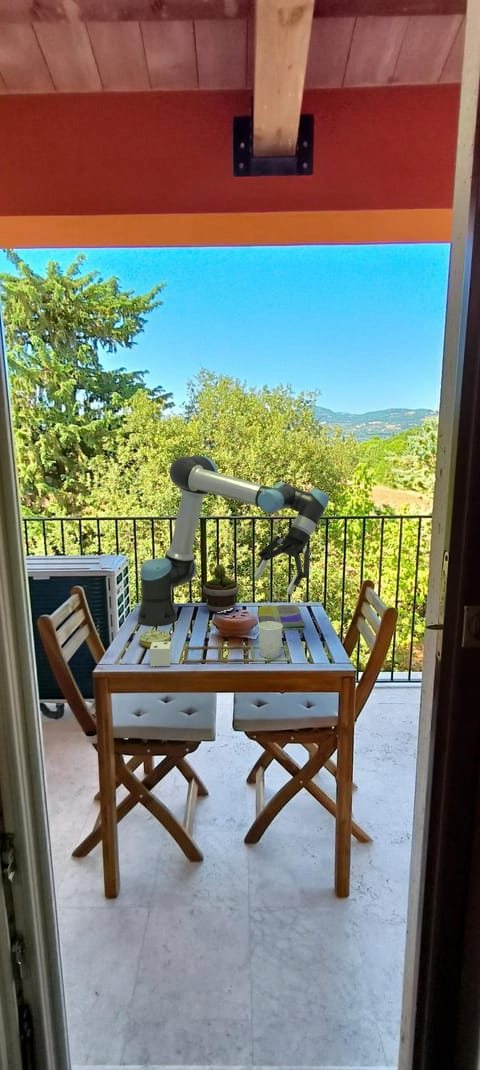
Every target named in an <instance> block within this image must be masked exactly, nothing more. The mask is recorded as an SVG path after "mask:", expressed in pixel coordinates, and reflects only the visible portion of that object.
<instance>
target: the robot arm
mask: <svg viewBox="0 0 480 1070" xmlns="http://www.w3.org/2000/svg"><path fill="white" fill-rule="evenodd" d="M168 472H169V478H170V481H172V483H173V484H174V485H175V486H176V487H177V488H179V489H180V491H181V497H180V501H179V506H178V510H177V515H176V521H175V525H174V530H173V535H172V541H171V545H170V547H169V549H167V550H166V552H165V556H164V557H157V558H156V557H155V558H154V559H153V558H151V559H148V560H146V561H144V562H143V563H142V564H141V565H140V572H139V573H140V581H141V582H140V584H141V585H140V589H141V603H140V606H139V609H138V613H137V622H138V623H140V624H141V625H144V626H150V627H151V626H152V627H157V626H166V625H169V624H168V623H170V624H172V622H173V623H174V622H176V621H177V619H178V614H177V610H176V608H175V605H174V601H173V593H172V591H173V590H172V589H176V588H177V587H179V586H182V585H186V584H187V583H189V582H191V580H193V578H194V577H195V575H196V573H197V563H195V562H196V561H195V555H194V554H193V552H192V551H193V548H194V542H195V538H196V535H197V534H196V533H197V528H198V524H199V519H200V516H201V515H200V514H201V510H202V506H203V505H202V504H203V501H204V497H205V496H207V495H209V494H213V495H216V496H219V497H222V498H226V499H230V500H233V501H238V502H241V503H244V504H246V505H250V506H255V507H257V508H260V509H261V510H262V511H263V512H265V513H276V512H278V511H282V510H285V509H289V510H293V511H295V512H297V514H296V517H295V518H294V521H293V522H292V524H291V527H290V528H289V530H288V532H287V534H286V536H285V538H282V537H281V536H280V535H277V536H275V539H274V540H273V541H271V542H270V543H269V544H268V545H267V546H266V547H264V548H263V549H262V550H260V551H259V552H258V553H257V556H259V557H260V560H259V562H258V564H257V565H256V566H257V570H256V572H255V574H254V575H253V576H254V578H256V579H258V580H260V578H261V576H262V575H263V572H264V571H265V569H266V567H267V565H268V561H269V560H271V559H273V558H275V557H277V556H279V555H281V554H286V555H288V556H290V557H292V558H294V562H295V567H296V568H295V569H296V573H297V574H294V576H293V578H292V580H290V581H291V582H290V583H289V585H288V587H287V589H286V591H285V592H286V593H287V594H288V595H292V593H293V591H294V590H295V588H296V587H298V586H300V584H301V581H302V579H303V578H304V579H309V577H310V560H311V559H310V558H311V555H312V550H311V549H310V548H309V547H307V548H305V547H306V546H307V544H308V542H309V541H310V538H311V536H312V535H313V532H314V531H315V528H316V527H317V525H318V524H319V521H320V519H321V518H322V516H323V514H324V513H325V511H326V508H327V507H328V505H329V501H330V497H329V495H328V494H327V493H326V492H324V491H322V490H320V489H317V488H312V489H310V491H309V492H308V491H307V492H306V491H304V490H302V489H300V488H297V487H295V486H293V485H290V484H289V483H285V482H282V481H278V482H277V483H276V484H275V485H274V486H273V487H270V486H267V485H265V484H264V485H263V484H260V483H256V482H252V481H248V480H245V479H242V478H238V477H234V476H230V475H227V474H222V473H218V467H217V465H216V463H215V461H214V460H213V459H211V458H210V457H208V456H205V455H193V456H181V457H178V458H177V459H175V460H174V461H173V462H172V463H171V465H170V467H169V471H168ZM279 545H280V546H279ZM302 553H303V566H302V561H301V554H302ZM165 624H166V625H165Z"/></svg>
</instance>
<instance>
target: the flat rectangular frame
mask: <svg viewBox="0 0 480 1070" xmlns="http://www.w3.org/2000/svg"><path fill="white" fill-rule="evenodd" d="M237 649H238V650H244V649H247V650H248V649H249V650H250V651H251V658H227V659H226V658H222V650H237ZM257 649H258V650H260V646H259V645H236V646H235V645H226V646H225V645H222V646H221V645H218V646H215V645H214V646H212V645H211V646H209V645H208V646H205V645H204V646H185V650H184V654H183V655H184V656H183V660H182V661H183V663H184V664H194V663H196V664H197V663H198V664H199V663H200V664H201V663H203V664H205V663H210V664H211V663H262V662H263V663H264V662H265V663H266V662H268V663H271V662H272V663H275V662H276V663H277V662H279V663H281V662H291V656H290V654H289V651H288V648H287V645H286V644H285V645H284V644H283V645H282V644H281V649H283V651H284V654H285V657H286V658H285V657H282V658H279V657H276V658H257V657H256V652H255V650H257ZM190 650H217V651H218V652H217V655H218V656H217V658H218V659H213V658H212V659H210V658H209V659H188V656H189V651H190Z"/></svg>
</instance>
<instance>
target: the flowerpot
mask: <svg viewBox="0 0 480 1070" xmlns="http://www.w3.org/2000/svg"><path fill="white" fill-rule="evenodd" d="M227 573H228V571H227V568H226V566H224V565H223V563H222V564H221V563H217V562H216V563H215V566H214V568H213V571H212V574H213V578H211V579H210V580H207V581H206V582H205V584H204V585H203V587H202V591H203V593H204V594H205V597H206V600H207V601H206V605H205V606H206V608H207V609H208V611H209V613H210V612H211V613H213V614H216V613H215V612H221V611H224V610H227V609H230V608H234V607H236V601H235V600H236V596H237V593H238V592H239V591H240V586H239V584H237V583H236V581H235V580H233V579H232V578H231V577H228V576H227ZM234 609H235V608H234Z"/></svg>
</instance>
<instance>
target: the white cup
mask: <svg viewBox="0 0 480 1070" xmlns="http://www.w3.org/2000/svg"><path fill="white" fill-rule="evenodd" d="M257 626H258V627H257V628H258V646H260V649H259V655H260V656H261V657H263V658H265V659H277V658H279V657H280V656H281V649H282V648H281V645H282V641H283V640H282V639H283V638H282V637H283V630H282V628H283V625H282V624H281V623H278V622H273V621H267V622H262V623H260V622H259V623H258V625H257Z"/></svg>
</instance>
